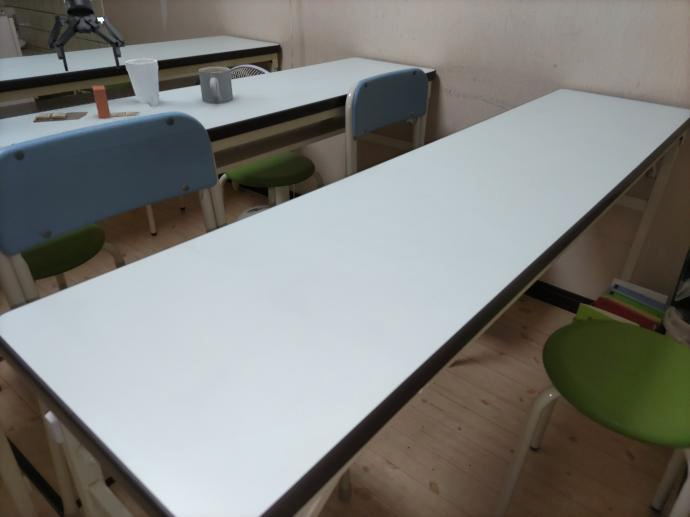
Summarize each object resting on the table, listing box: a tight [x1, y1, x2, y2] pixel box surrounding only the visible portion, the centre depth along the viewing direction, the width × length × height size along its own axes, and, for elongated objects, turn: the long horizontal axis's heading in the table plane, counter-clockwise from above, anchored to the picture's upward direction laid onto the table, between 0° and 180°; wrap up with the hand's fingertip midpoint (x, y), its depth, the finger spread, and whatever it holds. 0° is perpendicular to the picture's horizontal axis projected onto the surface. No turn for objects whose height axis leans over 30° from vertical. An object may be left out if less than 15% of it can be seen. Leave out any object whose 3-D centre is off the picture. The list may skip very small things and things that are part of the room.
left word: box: [33, 111, 89, 123], centre depth 145 cm, size 13×8×2 cm, turn 106°
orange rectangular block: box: [91, 84, 112, 120], centre depth 144 cm, size 3×5×8 cm, turn 26°
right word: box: [96, 111, 140, 118], centre depth 147 cm, size 12×8×2 cm, turn 106°
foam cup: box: [124, 58, 160, 107], centre depth 159 cm, size 10×9×13 cm
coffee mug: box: [198, 66, 234, 104], centre depth 165 cm, size 13×10×10 cm
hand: (92, 67), depth 146 cm, fingers open, 13 cm apart
